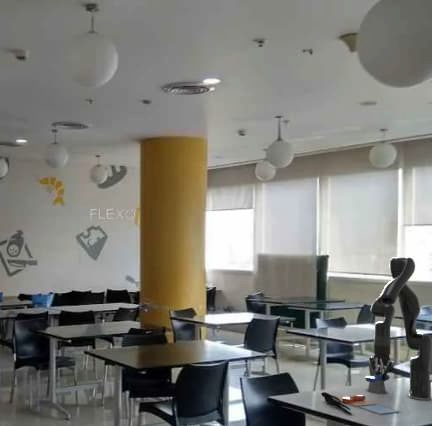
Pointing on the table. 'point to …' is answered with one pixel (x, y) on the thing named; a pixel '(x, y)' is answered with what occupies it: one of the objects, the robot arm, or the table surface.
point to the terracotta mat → (359, 403)
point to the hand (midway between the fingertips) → (381, 380)
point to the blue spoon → (375, 378)
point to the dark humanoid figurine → (335, 401)
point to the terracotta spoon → (353, 398)
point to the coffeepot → (376, 386)
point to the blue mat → (379, 409)
